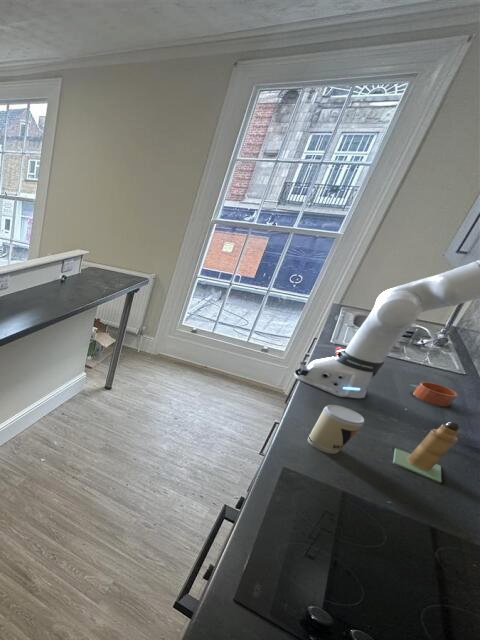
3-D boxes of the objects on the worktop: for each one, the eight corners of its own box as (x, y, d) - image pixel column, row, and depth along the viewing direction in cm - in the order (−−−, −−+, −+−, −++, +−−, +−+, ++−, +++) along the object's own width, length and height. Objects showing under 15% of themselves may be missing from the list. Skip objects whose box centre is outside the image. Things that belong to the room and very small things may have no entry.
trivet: (392, 463, 116) (394, 462, 116) (394, 449, 122) (395, 448, 122) (440, 483, 110) (441, 481, 110) (439, 466, 117) (440, 465, 116)
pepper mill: (408, 455, 119) (444, 415, 111) (432, 466, 116) (470, 425, 108) (404, 461, 117) (440, 420, 109) (428, 472, 113) (467, 431, 105)
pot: (411, 398, 152) (420, 387, 149) (412, 389, 158) (420, 379, 155) (448, 410, 146) (458, 399, 143) (447, 401, 152) (457, 390, 150)
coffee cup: (332, 459, 116) (356, 426, 110) (298, 439, 123) (319, 407, 116) (347, 450, 120) (372, 418, 113) (313, 432, 127) (334, 401, 120)
